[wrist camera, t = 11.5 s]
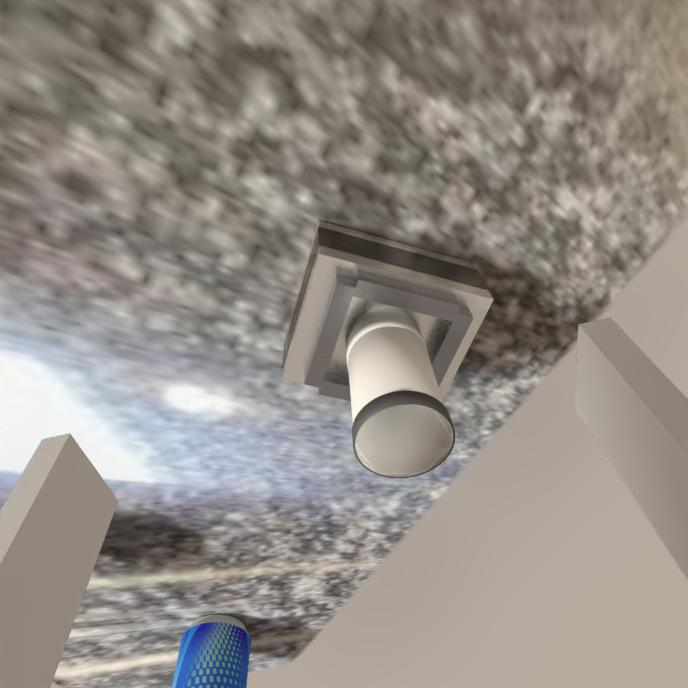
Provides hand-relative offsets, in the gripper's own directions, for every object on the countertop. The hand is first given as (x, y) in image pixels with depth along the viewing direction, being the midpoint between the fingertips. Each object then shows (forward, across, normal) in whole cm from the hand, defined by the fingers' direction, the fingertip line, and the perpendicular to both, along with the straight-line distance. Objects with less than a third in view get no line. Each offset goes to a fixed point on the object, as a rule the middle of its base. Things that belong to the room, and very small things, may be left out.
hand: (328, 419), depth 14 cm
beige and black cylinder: (+19, +2, -11) cm, 23 cm away
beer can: (+25, -26, -53) cm, 64 cm away
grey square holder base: (+25, +2, -11) cm, 28 cm away
